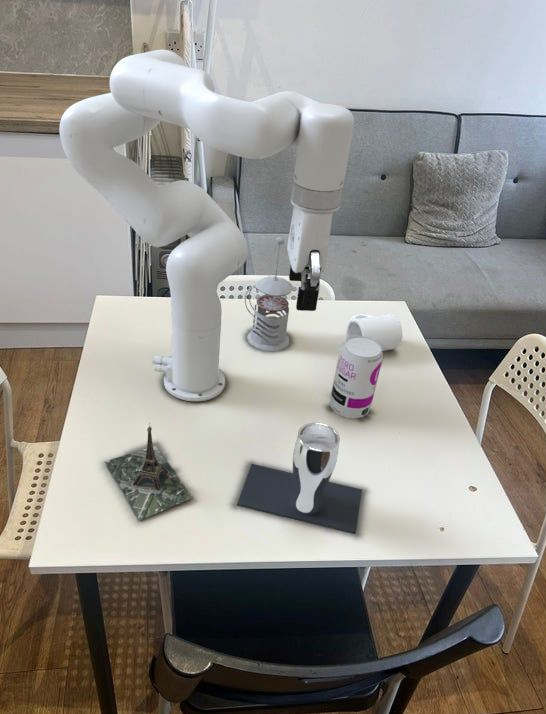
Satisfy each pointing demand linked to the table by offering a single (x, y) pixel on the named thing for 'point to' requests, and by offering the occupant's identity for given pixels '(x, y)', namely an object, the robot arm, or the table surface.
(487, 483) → the table surface
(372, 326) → the mug
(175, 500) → the eiffel tower figurine
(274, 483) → the mat
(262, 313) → the french press
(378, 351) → the supplement can
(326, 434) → the beer glass
